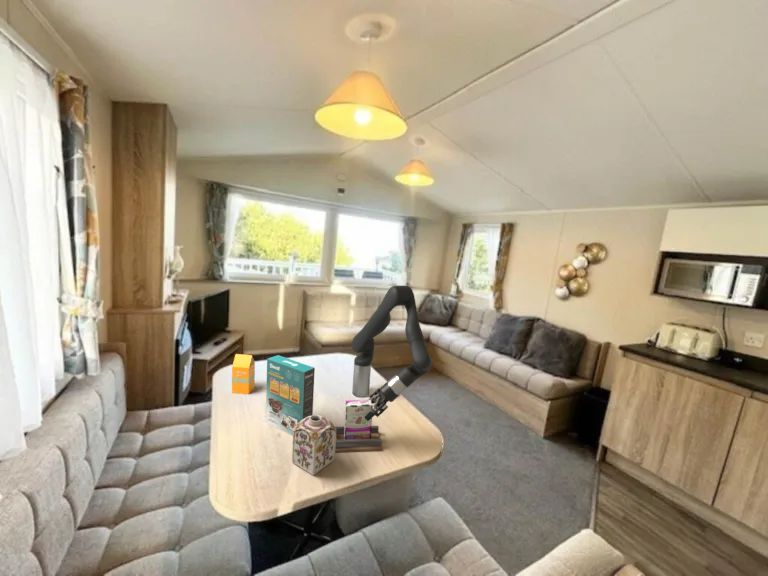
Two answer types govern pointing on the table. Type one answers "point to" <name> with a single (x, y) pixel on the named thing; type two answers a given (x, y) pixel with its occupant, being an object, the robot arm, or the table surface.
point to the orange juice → (243, 374)
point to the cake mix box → (288, 393)
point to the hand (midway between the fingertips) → (365, 413)
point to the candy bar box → (357, 419)
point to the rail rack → (358, 442)
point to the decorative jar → (314, 443)
